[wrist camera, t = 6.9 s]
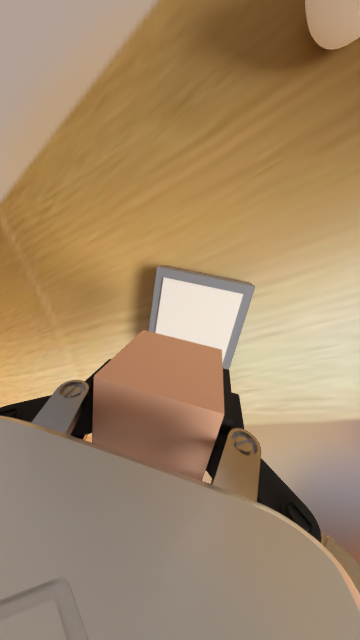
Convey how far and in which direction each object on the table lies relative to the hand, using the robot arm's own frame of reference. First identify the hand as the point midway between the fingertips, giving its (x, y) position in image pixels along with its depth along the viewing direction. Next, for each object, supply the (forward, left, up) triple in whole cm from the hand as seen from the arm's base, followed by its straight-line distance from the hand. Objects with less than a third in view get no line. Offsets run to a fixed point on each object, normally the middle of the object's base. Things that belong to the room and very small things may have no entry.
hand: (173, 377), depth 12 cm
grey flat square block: (0, 0, -15) cm, 15 cm away
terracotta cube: (0, 0, 0) cm, 0 cm away
